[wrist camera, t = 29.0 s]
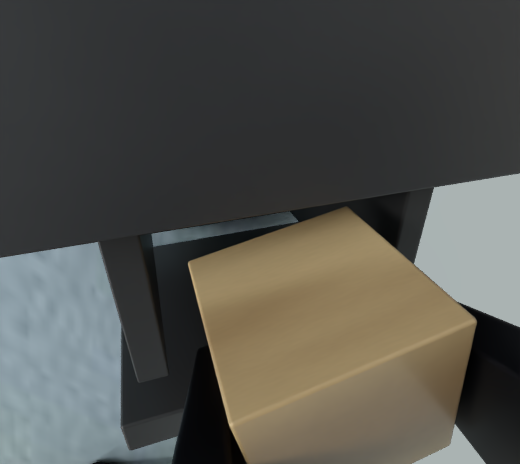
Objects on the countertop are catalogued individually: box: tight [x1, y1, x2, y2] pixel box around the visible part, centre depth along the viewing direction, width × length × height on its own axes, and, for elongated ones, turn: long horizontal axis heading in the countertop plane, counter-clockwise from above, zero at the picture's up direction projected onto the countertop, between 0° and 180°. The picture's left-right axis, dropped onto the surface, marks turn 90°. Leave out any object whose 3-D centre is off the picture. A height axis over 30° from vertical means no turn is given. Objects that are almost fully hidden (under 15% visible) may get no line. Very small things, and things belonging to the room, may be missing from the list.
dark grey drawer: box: [98, 187, 434, 450], centre depth 13 cm, size 16×9×9 cm, turn 0°
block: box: [188, 206, 477, 464], centre depth 8 cm, size 4×4×4 cm
